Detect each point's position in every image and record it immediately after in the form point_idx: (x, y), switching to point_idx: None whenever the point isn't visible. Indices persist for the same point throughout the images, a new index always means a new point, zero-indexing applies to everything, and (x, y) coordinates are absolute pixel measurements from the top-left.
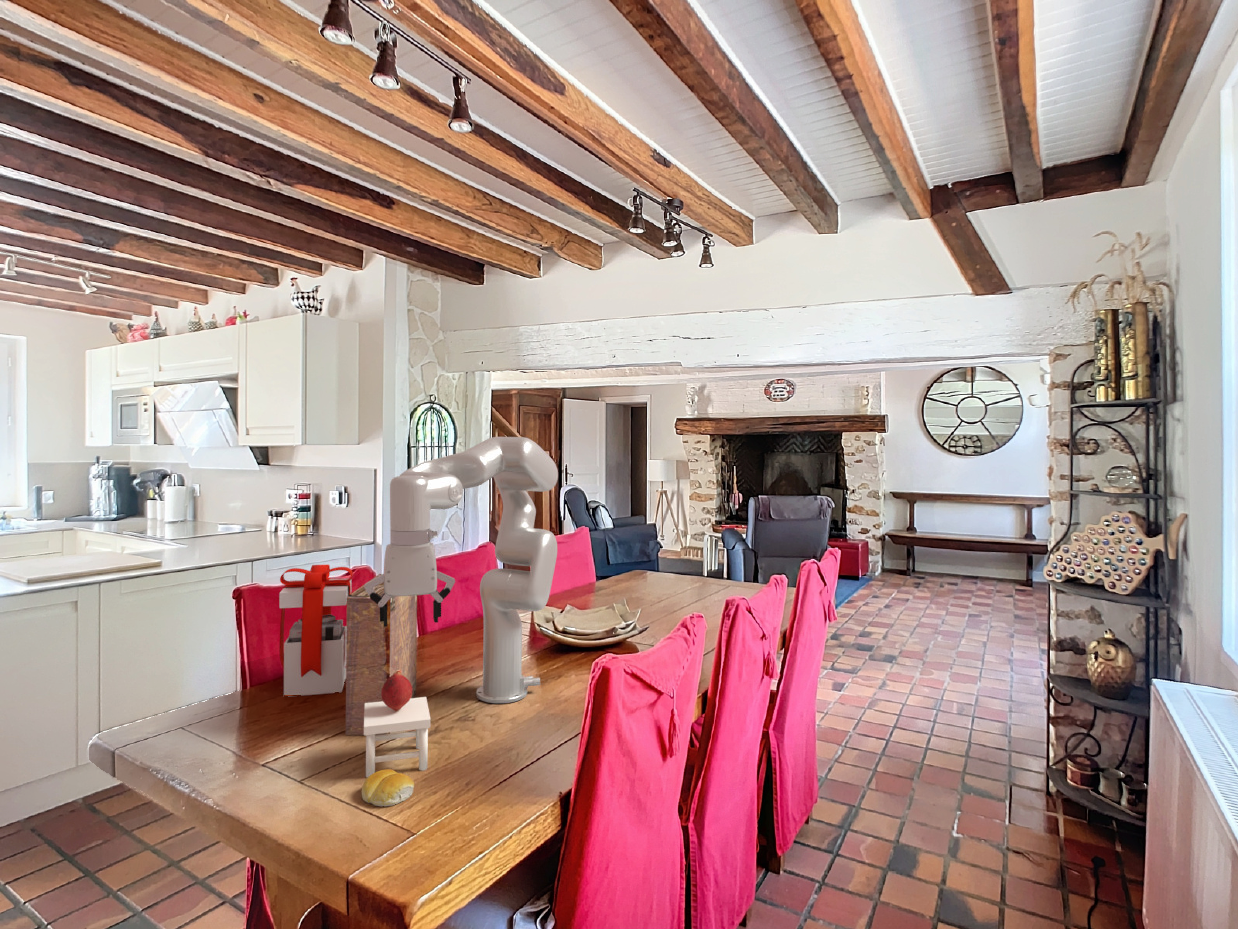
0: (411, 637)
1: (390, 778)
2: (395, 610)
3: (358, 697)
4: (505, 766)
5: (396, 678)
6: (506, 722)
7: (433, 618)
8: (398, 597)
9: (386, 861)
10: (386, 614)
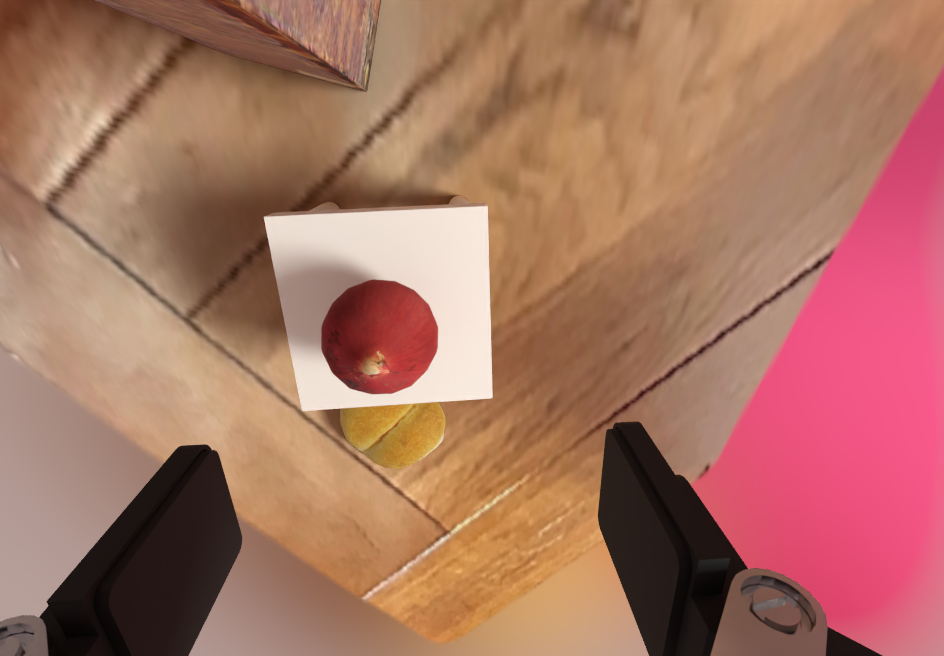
0: None
1: (396, 454)
2: None
3: (214, 41)
4: (642, 354)
5: (372, 384)
6: (723, 87)
7: (607, 448)
8: None
9: (408, 581)
10: (190, 640)
